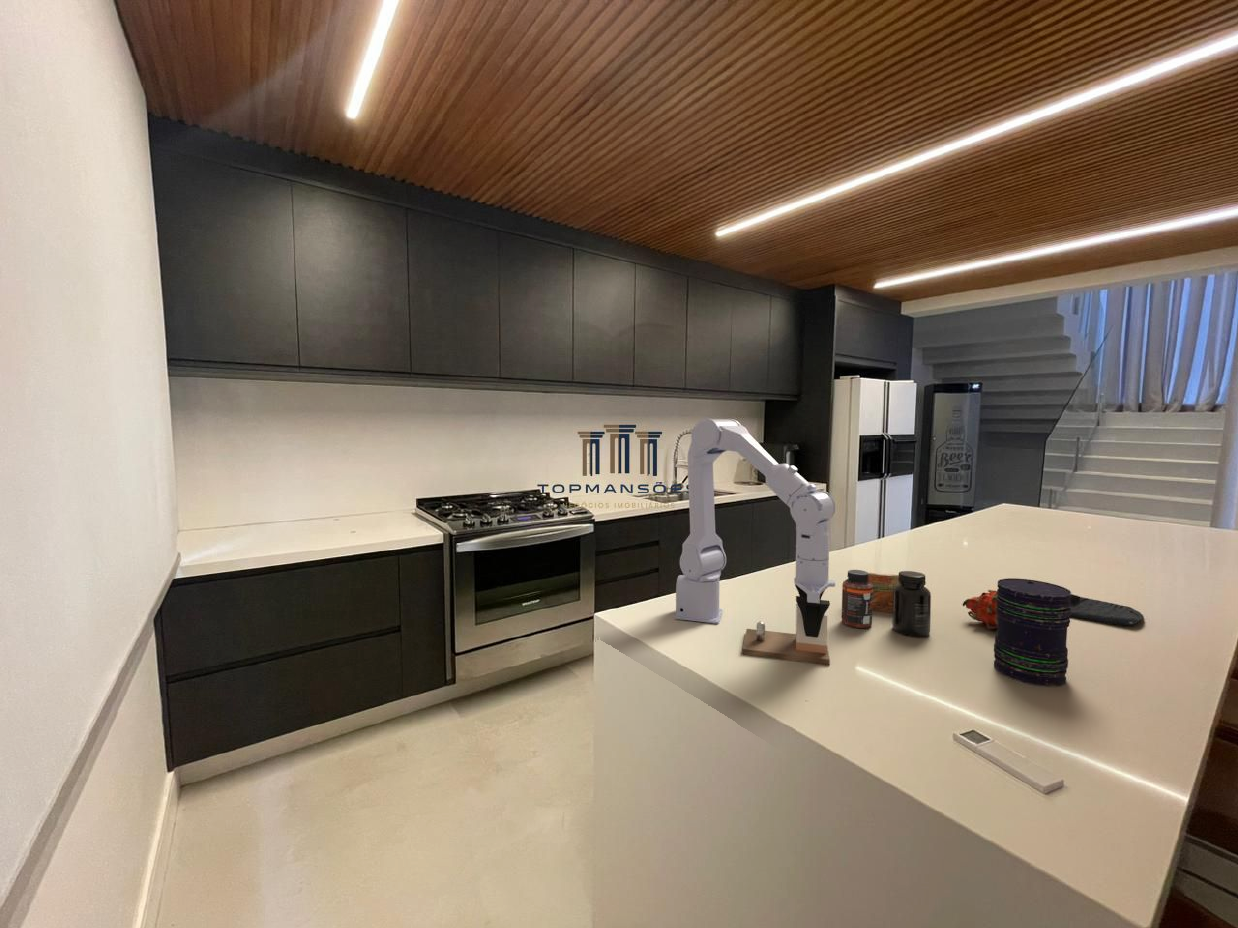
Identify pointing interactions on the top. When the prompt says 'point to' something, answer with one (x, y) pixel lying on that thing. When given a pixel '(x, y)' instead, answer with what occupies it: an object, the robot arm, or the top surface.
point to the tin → (883, 591)
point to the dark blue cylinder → (1032, 631)
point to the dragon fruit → (984, 608)
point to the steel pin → (760, 632)
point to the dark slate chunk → (1103, 611)
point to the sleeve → (810, 642)
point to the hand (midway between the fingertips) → (810, 628)
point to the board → (780, 648)
